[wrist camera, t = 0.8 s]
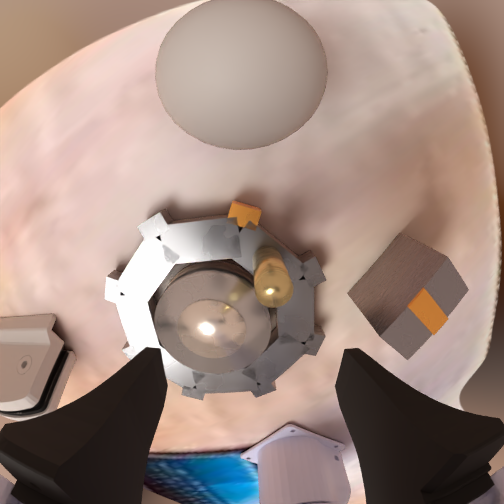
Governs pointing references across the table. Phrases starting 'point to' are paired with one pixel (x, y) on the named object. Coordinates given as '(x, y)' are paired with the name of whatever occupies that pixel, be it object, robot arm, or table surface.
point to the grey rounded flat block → (31, 366)
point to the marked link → (408, 293)
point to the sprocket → (265, 281)
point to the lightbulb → (241, 73)
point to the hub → (212, 318)
